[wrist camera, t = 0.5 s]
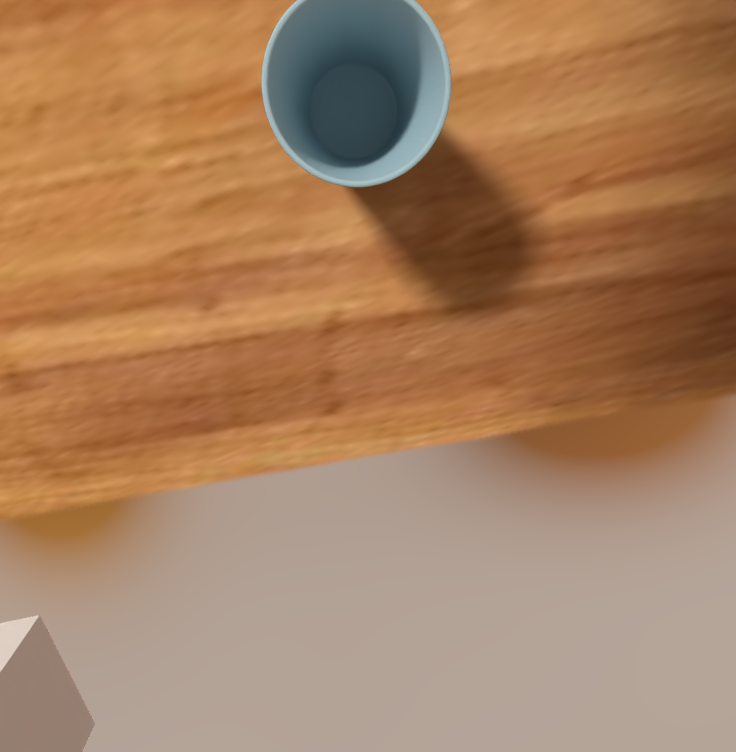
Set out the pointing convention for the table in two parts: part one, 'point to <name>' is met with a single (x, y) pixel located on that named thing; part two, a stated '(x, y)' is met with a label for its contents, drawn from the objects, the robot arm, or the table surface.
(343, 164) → the cup
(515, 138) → the table surface
